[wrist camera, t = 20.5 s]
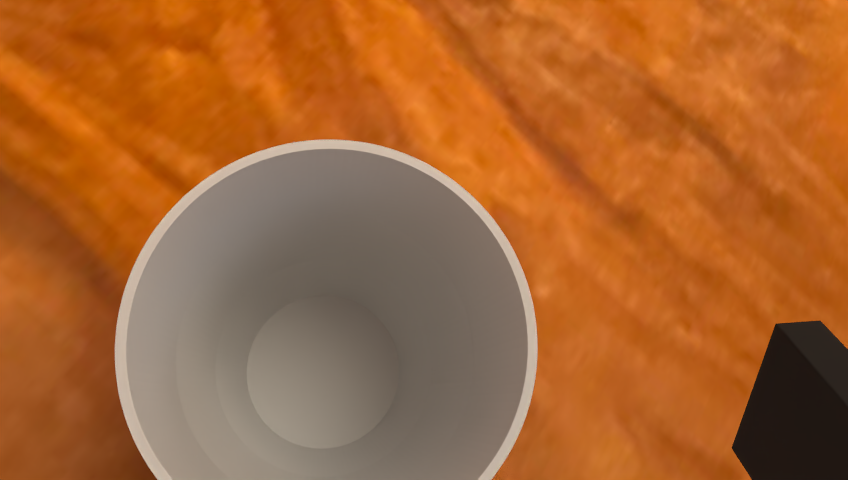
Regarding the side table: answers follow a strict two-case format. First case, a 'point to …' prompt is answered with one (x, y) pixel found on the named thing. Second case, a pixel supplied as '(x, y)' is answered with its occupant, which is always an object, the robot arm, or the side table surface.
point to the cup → (326, 325)
